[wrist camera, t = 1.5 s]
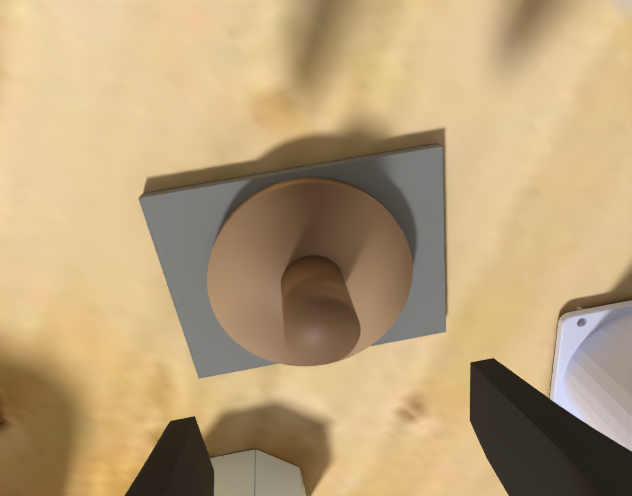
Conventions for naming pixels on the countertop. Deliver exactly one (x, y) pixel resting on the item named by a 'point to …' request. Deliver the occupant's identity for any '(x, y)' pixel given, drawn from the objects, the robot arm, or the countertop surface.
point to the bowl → (255, 475)
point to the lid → (309, 272)
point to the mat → (225, 195)
